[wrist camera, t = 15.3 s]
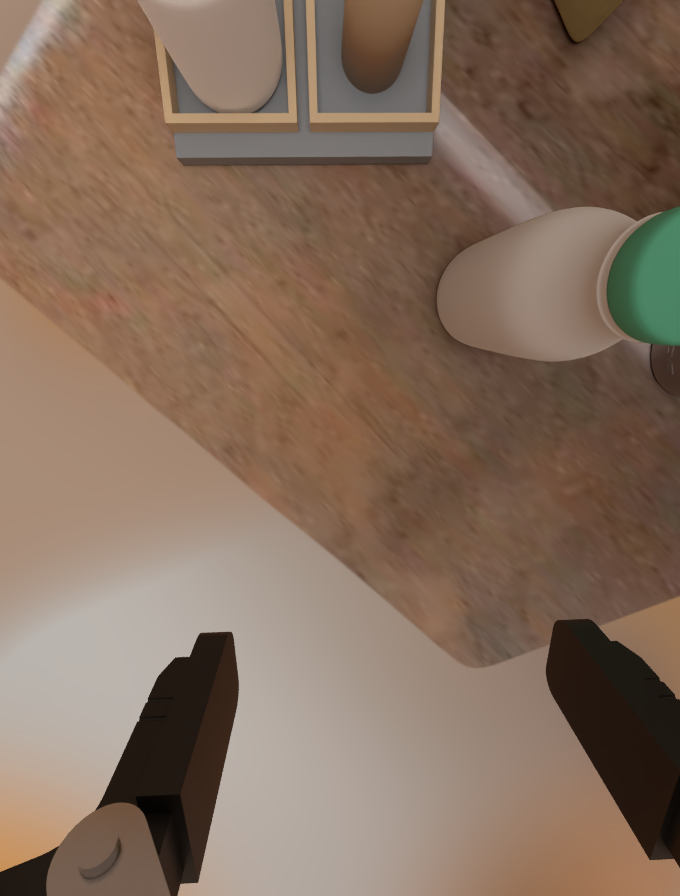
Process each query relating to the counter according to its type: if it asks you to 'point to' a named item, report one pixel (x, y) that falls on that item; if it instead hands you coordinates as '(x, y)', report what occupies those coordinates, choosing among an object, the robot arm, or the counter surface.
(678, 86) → the counter surface
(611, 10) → the cheese
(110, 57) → the counter surface
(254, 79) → the can
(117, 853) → the robot arm
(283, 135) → the socket board
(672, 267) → the milk bottle
